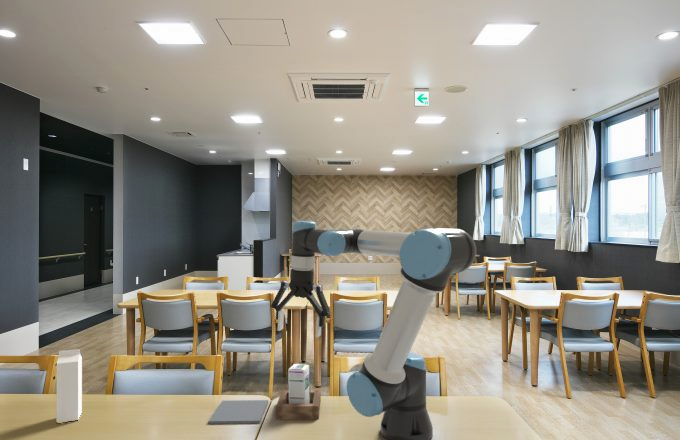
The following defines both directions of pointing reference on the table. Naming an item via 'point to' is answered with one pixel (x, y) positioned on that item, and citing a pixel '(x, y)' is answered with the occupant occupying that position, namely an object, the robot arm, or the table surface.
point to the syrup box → (299, 384)
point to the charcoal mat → (239, 412)
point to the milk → (69, 385)
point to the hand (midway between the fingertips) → (299, 333)
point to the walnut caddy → (298, 407)
